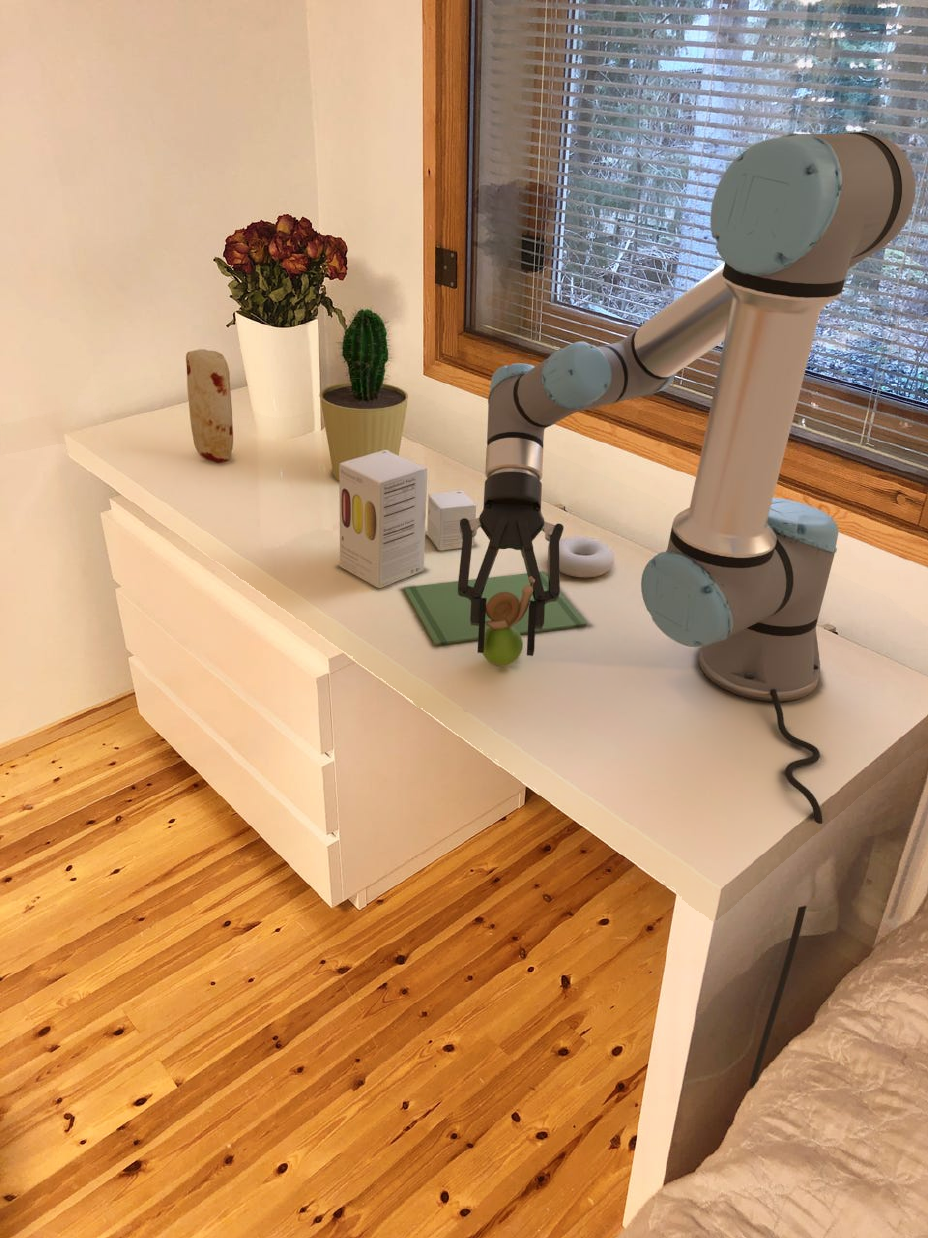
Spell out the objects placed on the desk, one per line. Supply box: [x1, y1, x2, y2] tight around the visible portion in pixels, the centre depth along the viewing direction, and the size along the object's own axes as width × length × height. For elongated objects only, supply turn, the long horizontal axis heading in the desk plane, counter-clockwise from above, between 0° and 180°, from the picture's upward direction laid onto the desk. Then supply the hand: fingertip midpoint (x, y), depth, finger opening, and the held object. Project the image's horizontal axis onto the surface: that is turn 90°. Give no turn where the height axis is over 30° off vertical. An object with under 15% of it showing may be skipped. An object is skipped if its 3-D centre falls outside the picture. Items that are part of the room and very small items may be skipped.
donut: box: [559, 536, 615, 579], centre depth 160 cm, size 10×4×10 cm
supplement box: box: [339, 450, 428, 589], centre depth 153 cm, size 10×9×17 cm
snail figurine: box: [482, 576, 535, 667], centre depth 133 cm, size 5×6×12 cm
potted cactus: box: [318, 305, 409, 482], centre depth 181 cm, size 15×15×30 cm
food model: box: [185, 348, 234, 464], centre depth 187 cm, size 10×7×20 cm
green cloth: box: [403, 571, 587, 646], centre depth 148 cm, size 16×22×1 cm
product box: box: [426, 490, 477, 552], centre depth 165 cm, size 6×6×7 cm
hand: (505, 651), depth 131 cm, fingers closed on snail figurine, 6 cm apart
